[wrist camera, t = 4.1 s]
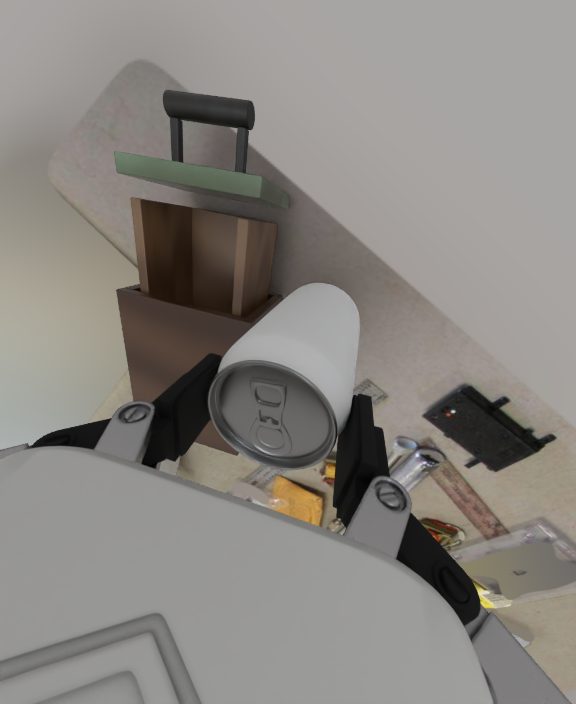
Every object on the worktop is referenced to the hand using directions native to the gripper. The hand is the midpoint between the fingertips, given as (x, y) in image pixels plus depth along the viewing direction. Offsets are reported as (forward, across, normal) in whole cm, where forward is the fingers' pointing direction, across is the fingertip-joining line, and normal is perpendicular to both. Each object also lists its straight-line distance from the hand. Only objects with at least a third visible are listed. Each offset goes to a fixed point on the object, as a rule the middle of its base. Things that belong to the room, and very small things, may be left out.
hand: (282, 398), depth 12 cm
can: (+10, 0, -1) cm, 10 cm away
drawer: (+15, +10, -5) cm, 19 cm away
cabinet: (+16, +10, +7) cm, 20 cm away
